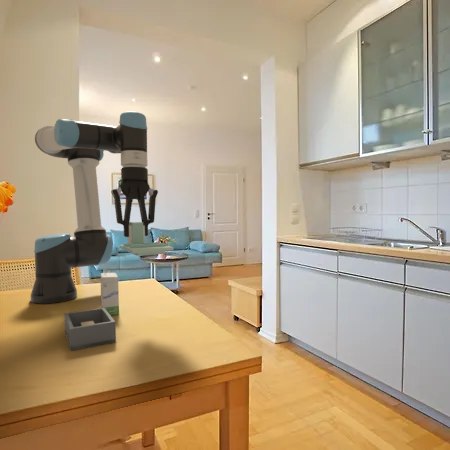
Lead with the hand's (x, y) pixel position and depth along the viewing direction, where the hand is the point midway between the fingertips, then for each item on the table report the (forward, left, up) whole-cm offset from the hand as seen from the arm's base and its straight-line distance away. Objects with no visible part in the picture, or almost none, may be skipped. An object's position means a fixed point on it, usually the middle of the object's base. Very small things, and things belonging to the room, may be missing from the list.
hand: (136, 247), depth 102 cm
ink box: (-10, -6, -21) cm, 24 cm away
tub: (+10, -15, -21) cm, 27 cm away
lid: (+8, 0, -1) cm, 8 cm away
